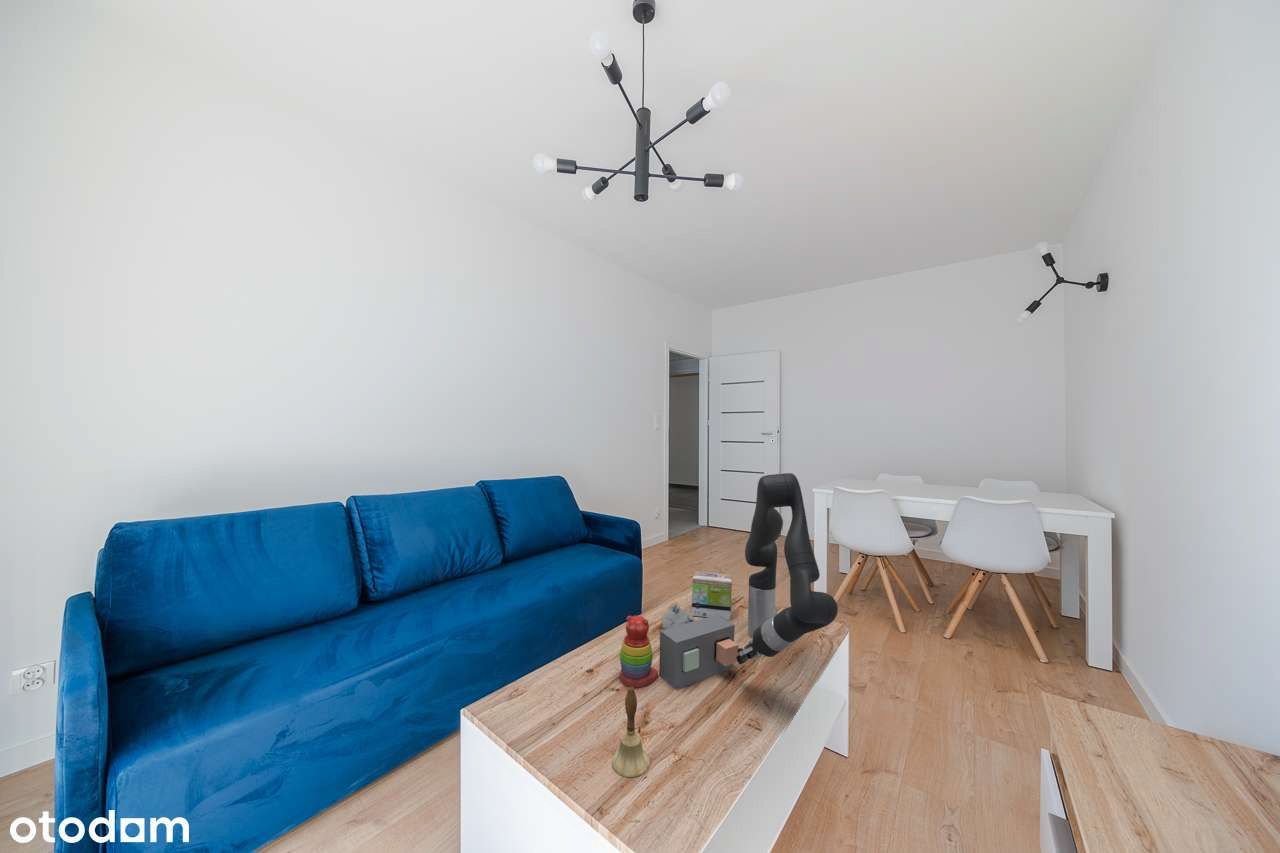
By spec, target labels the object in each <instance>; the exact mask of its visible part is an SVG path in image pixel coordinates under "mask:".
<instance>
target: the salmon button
mask: <svg viewBox="0 0 1280 853" xmlns="http://www.w3.org/2000/svg"><path fill="white" fill-rule="evenodd" d="M739 646H740V645H739V644H738V643H737V642H735V641H734V642H733V641H732V640H730V639H727V640H724V641H721V642H718V643H716V660H717V661H718V662H720V663H721V664H723V665H724V666H728V665H731V664H736V663H738V661H737V659H736V657H737V656H738V655H739V654H738V651H737V650H738V649H739V648H740V647H739Z"/></svg>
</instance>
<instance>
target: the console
mask: <svg viewBox="0 0 1280 853" xmlns="http://www.w3.org/2000/svg"><path fill="white" fill-rule="evenodd" d="M735 628H736V627H735V624H734V623H733V622H730V621H729V620H725V619H723V618H721V617H720V616H718V615H715V616H711V617H703V618H702V619H697V620H695V621H693V622H690V623H686V624H683V625H679V626H676V627H672V628H668V629H665V630H664V629H662V630H660V631H659V667H658V668H659V669H658V670H659V672H658V677H661V679H663V680H664V681H665V682H666V683H667V684H669V685H670V686H671V687H672V688H673V689H675V690H678V689H681V688H683V687H686V686H689V685H691V684H694V683H697V682H699V681H702V680H704V679H708V678H710V677H713V676H715V675H718V674H720V673H724V672H726V671H729V670H732V669H734V668H735V667H734V666H735V665H734V664H735V663H734V664H731V665H728V666H724V665H723V664H721V663H720V662H718V661H717V660H716V643H718V642H721V641H724V640H727V639H730V640H732V641H733V642H735V630H736V629H735ZM695 647H696V648H697V649H699V667H698V668H696V669H693V670H690V671H687V672H684V671H683V670H682V652H683V651H686V650H689V649H692V648H695Z"/></svg>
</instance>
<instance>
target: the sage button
mask: <svg viewBox="0 0 1280 853" xmlns="http://www.w3.org/2000/svg"><path fill="white" fill-rule="evenodd" d="M698 667H699V649H697V648H696V647H695V648H692V649H689V650H686V651H683V652H682V670H683V671H684V672H687V671H690V670H693V669H696V668H698Z"/></svg>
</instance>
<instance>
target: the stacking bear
mask: <svg viewBox="0 0 1280 853" xmlns="http://www.w3.org/2000/svg"><path fill="white" fill-rule="evenodd" d="M649 630H650V624H649V621H648V619H647V618H645V617H644V616H641V615H633V616H632V615H628V616H627V617H626V624H625V632H626V635H625V636H624V638H623V641H622V644H621V648H620V653H619V662H620V668H621V669H620V673H619V679H620V682H621V683H622V684H623V685H625V686H627V687H628V688H629V687H634V688H643V687H646V686H648V685H651V683H653V682H655V680H657V678H658V677H659V672H658V670H657V669H656V668H654V667H652V663H653V648H652V644H651V641H650V637H649V636H648V633H649Z"/></svg>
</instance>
